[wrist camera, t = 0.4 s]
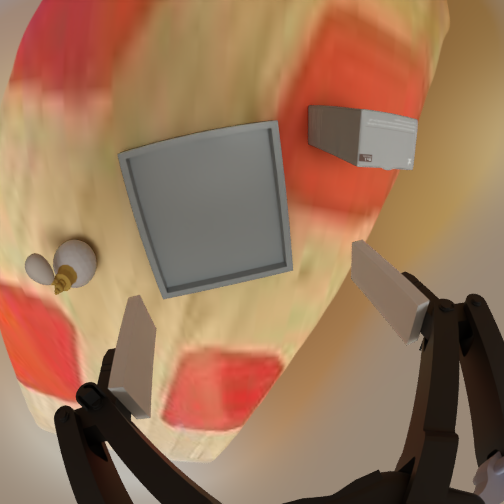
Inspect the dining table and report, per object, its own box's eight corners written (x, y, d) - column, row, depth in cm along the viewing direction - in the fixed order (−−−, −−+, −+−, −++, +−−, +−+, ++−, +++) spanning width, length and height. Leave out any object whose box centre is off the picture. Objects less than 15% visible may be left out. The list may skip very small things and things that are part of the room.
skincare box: (353, 108, 38) (421, 113, 24) (352, 150, 41) (417, 172, 27) (304, 104, 36) (362, 101, 23) (304, 149, 40) (360, 169, 26)
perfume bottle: (96, 279, 42) (75, 324, 32) (50, 259, 39) (20, 298, 28) (105, 242, 40) (82, 283, 30) (56, 221, 36) (21, 256, 26)
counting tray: (121, 152, 34) (117, 154, 32) (272, 120, 37) (277, 120, 35) (164, 290, 46) (163, 299, 44) (288, 263, 48) (293, 270, 46)
